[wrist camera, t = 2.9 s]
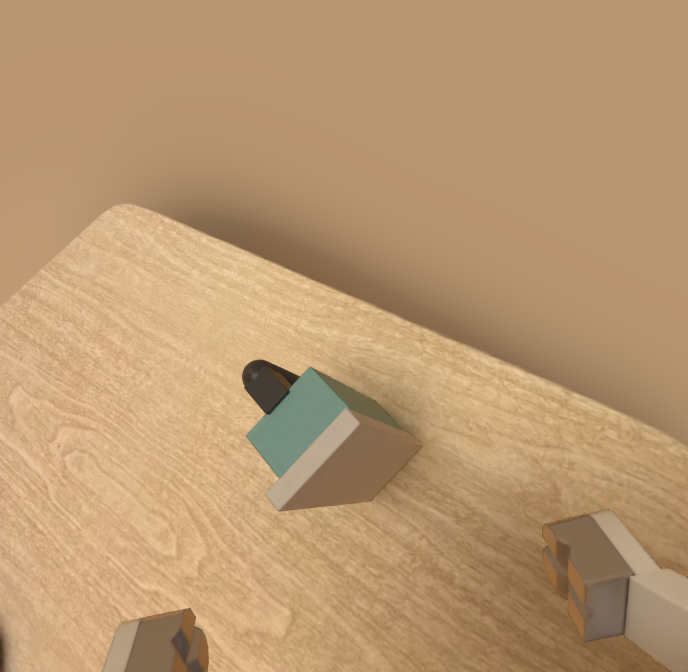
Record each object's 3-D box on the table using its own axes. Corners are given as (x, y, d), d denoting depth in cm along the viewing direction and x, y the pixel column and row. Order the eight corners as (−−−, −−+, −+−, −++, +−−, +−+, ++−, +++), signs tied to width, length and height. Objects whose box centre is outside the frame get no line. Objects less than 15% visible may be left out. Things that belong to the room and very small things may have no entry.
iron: (423, 445, 32) (361, 423, 20) (369, 502, 32) (277, 512, 21) (349, 371, 35) (258, 315, 24) (300, 423, 36) (187, 393, 24)
